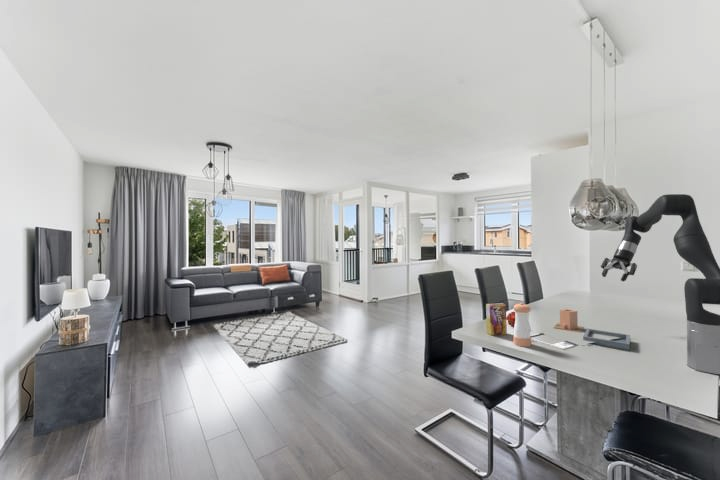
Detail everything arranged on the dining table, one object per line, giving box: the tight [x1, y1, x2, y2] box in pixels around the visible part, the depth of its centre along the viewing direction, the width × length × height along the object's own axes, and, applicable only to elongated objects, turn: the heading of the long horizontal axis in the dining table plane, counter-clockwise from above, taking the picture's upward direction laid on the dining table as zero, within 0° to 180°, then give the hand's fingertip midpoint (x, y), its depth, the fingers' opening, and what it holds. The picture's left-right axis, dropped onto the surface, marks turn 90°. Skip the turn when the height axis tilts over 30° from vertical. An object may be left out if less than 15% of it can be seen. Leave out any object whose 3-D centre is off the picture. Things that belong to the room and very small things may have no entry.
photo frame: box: [530, 332, 580, 350], centre depth 144 cm, size 15×1×18 cm
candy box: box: [485, 302, 508, 336], centre depth 156 cm, size 9×4×15 cm, turn 96°
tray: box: [582, 328, 631, 352], centre depth 141 cm, size 16×16×3 cm
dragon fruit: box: [506, 311, 515, 327], centre depth 168 cm, size 8×8×12 cm
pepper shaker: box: [512, 302, 532, 348], centre depth 140 cm, size 7×7×19 cm
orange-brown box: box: [559, 308, 579, 330], centre depth 159 cm, size 5×7×9 cm
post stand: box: [553, 322, 585, 334], centre depth 159 cm, size 12×12×8 cm
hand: (612, 278), depth 160 cm, fingers open, 8 cm apart
